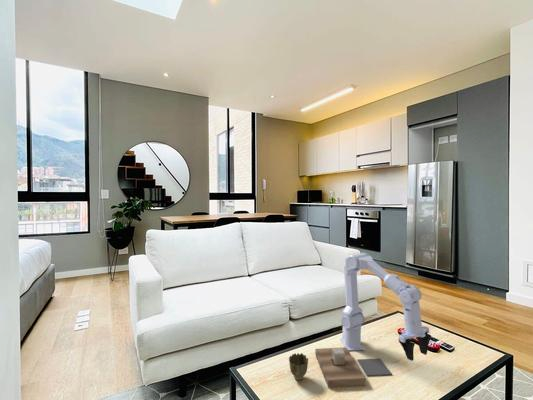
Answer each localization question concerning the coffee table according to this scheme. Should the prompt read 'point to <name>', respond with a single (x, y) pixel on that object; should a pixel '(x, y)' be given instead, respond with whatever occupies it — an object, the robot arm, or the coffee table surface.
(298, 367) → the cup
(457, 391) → the coffee table surface
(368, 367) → the mat
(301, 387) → the coffee table surface
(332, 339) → the coffee table surface
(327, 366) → the brown wooden socket board
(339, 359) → the plug
